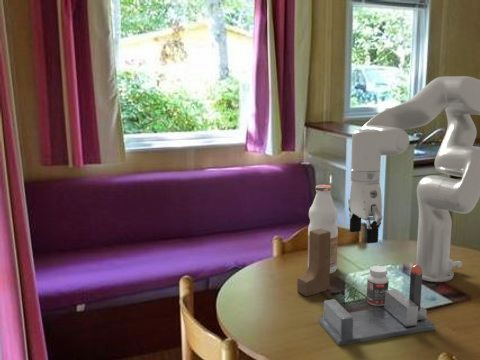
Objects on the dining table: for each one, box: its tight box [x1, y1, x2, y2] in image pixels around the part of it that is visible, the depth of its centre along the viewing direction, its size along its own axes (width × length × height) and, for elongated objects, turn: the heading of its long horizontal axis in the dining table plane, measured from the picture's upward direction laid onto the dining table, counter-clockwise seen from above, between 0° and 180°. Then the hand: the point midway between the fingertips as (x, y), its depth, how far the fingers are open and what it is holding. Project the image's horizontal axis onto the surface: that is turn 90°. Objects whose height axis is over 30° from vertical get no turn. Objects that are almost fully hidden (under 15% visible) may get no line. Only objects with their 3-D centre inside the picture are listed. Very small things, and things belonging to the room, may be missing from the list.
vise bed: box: [317, 298, 436, 347], centre depth 123 cm, size 26×12×6 cm, turn 104°
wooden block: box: [296, 228, 331, 297], centre depth 142 cm, size 9×4×18 cm, turn 122°
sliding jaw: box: [384, 264, 428, 327], centre depth 124 cm, size 7×10×14 cm
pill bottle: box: [366, 265, 389, 307], centre depth 135 cm, size 6×6×10 cm
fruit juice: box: [307, 184, 339, 275], centre depth 157 cm, size 9×9×28 cm
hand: (363, 236), depth 133 cm, fingers open, 9 cm apart
